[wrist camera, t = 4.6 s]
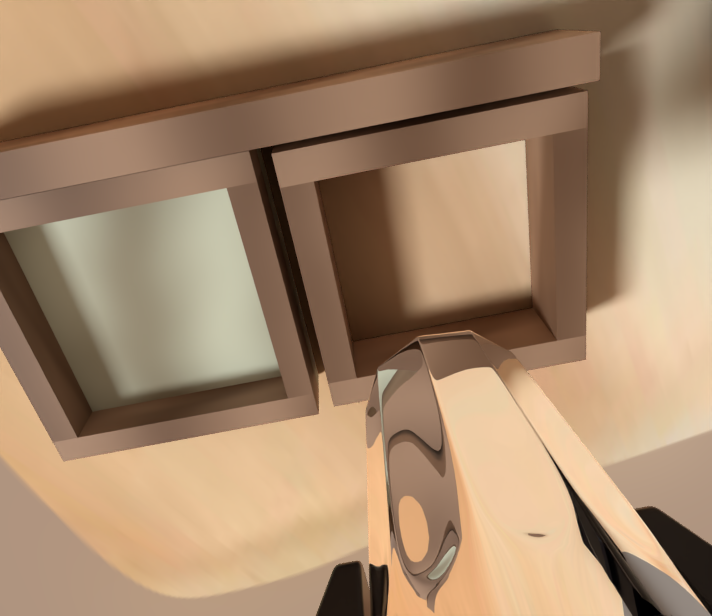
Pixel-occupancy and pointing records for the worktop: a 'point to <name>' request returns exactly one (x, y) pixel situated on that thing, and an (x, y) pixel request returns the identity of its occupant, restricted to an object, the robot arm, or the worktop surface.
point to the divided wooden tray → (265, 240)
